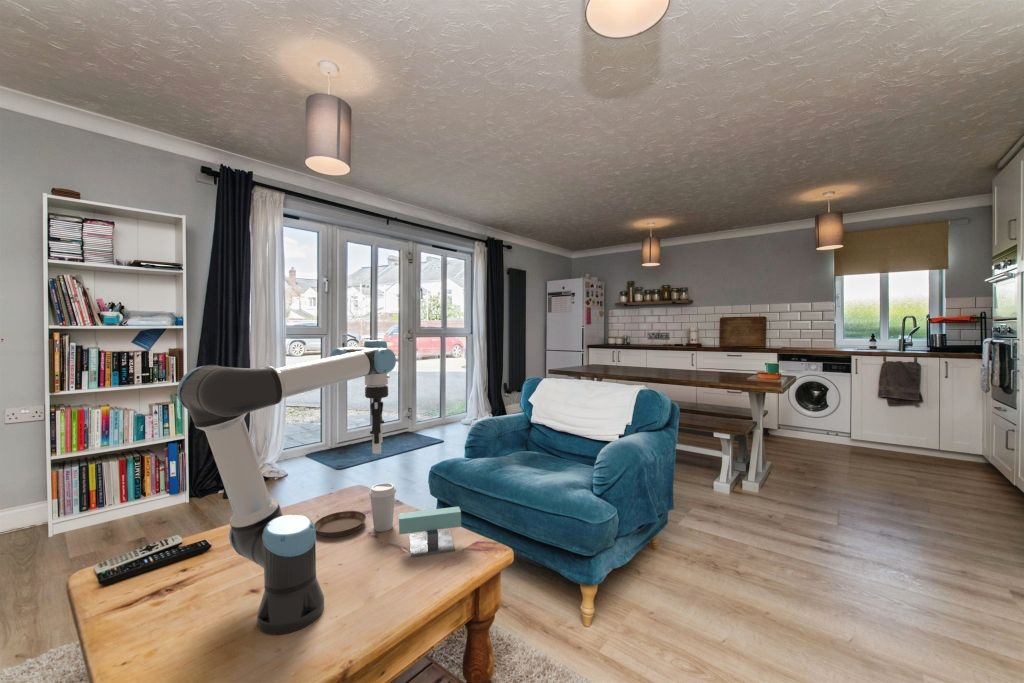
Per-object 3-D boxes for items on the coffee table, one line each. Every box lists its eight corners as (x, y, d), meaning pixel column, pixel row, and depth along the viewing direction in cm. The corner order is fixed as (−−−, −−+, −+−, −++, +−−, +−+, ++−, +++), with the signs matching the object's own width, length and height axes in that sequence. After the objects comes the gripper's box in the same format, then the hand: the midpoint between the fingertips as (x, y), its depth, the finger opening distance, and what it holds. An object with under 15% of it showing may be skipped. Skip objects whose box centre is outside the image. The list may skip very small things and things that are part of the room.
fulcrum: (455, 550, 140) (454, 532, 140) (410, 557, 137) (410, 538, 137) (450, 531, 154) (449, 514, 154) (409, 536, 150) (409, 519, 150)
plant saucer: (303, 532, 156) (303, 523, 155) (347, 514, 170) (347, 506, 170) (332, 545, 145) (332, 536, 145) (376, 525, 160) (376, 517, 160)
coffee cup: (402, 525, 159) (401, 485, 159) (381, 536, 151) (381, 493, 151) (384, 519, 164) (383, 480, 164) (363, 529, 156) (363, 488, 156)
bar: (461, 526, 145) (460, 511, 144) (399, 534, 139) (398, 519, 139) (459, 520, 149) (459, 506, 149) (399, 528, 144) (398, 513, 144)
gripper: (387, 389, 136) (388, 456, 137) (388, 380, 160) (389, 437, 161) (362, 391, 134) (363, 458, 135) (367, 381, 158) (368, 439, 159)
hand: (377, 447), depth 148 cm, fingers open, 13 cm apart
